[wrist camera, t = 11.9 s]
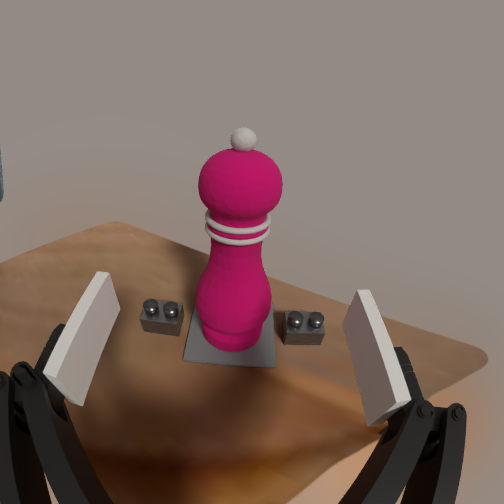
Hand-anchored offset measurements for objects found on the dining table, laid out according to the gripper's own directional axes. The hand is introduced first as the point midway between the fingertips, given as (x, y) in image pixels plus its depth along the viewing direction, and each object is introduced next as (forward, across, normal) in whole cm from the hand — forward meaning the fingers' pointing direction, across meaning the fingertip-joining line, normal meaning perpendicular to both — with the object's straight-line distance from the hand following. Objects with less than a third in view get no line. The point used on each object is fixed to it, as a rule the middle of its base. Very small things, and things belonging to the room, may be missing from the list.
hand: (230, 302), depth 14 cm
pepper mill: (+9, 0, -13) cm, 16 cm away
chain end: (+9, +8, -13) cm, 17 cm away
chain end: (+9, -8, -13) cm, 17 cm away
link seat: (+9, 0, -13) cm, 16 cm away
